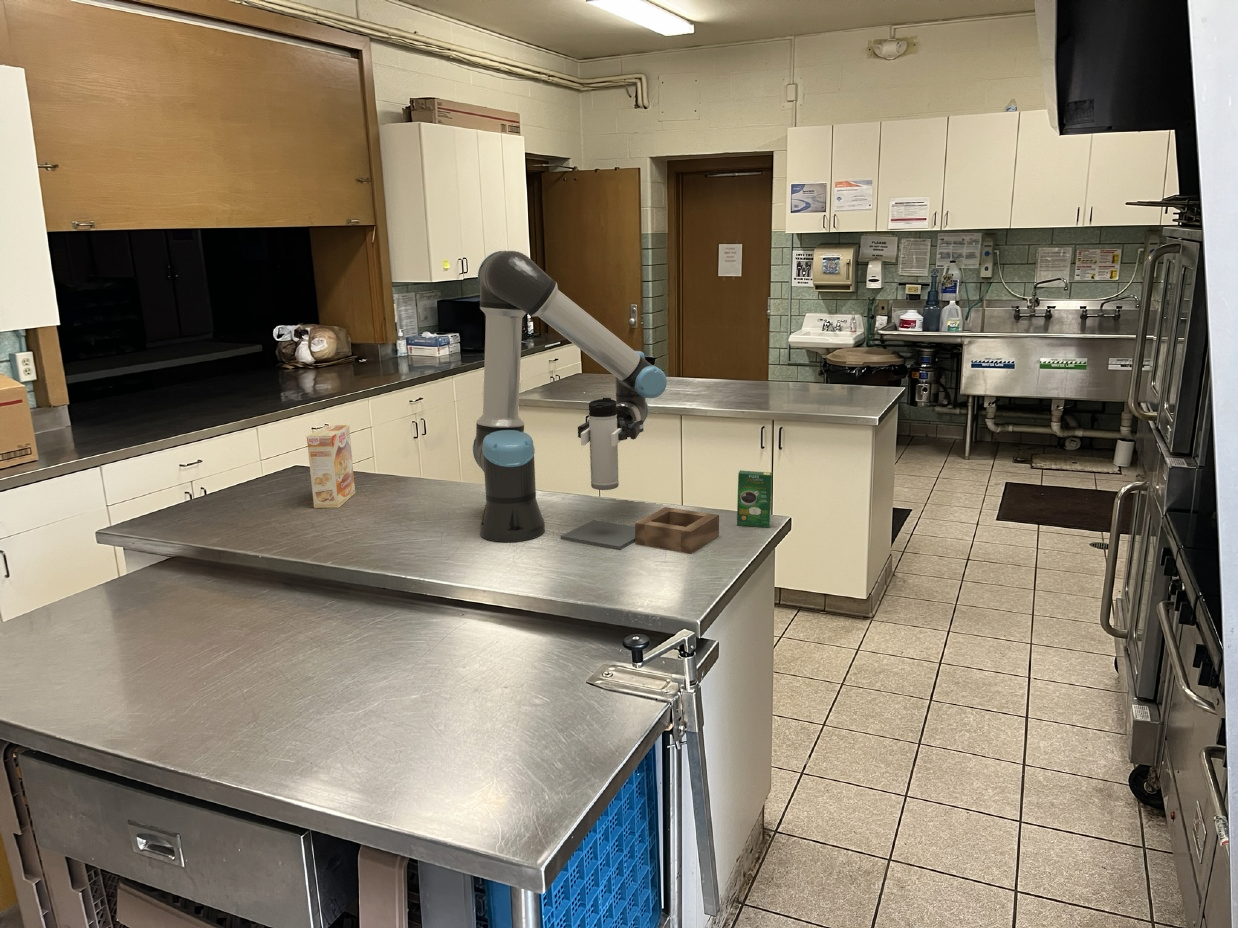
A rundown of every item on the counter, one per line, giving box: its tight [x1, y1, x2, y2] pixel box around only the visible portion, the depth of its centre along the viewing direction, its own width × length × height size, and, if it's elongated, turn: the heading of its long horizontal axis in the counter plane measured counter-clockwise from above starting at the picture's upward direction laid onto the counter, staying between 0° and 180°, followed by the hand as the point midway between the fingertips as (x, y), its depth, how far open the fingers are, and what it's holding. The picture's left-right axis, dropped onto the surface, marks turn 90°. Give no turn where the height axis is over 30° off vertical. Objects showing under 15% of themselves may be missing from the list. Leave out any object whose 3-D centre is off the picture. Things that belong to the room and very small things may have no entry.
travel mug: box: [588, 397, 620, 491], centre depth 199 cm, size 6×7×20 cm
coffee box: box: [736, 469, 773, 528], centre depth 207 cm, size 8×3×13 cm, turn 74°
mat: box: [559, 519, 635, 551], centre depth 204 cm, size 16×14×1 cm
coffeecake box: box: [306, 424, 356, 509], centre depth 237 cm, size 15×7×20 cm, turn 179°
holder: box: [634, 506, 720, 555], centre depth 199 cm, size 14×14×5 cm
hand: (597, 439), depth 193 cm, fingers closed on travel mug, 6 cm apart
